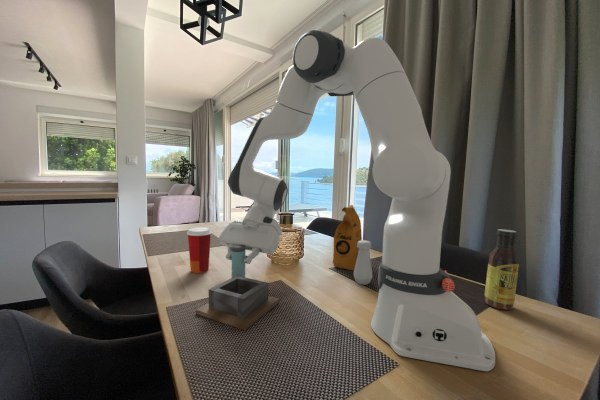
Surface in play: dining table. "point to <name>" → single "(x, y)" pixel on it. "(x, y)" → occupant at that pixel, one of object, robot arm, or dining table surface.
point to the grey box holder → (238, 302)
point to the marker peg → (238, 261)
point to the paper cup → (199, 249)
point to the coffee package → (347, 240)
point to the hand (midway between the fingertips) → (237, 260)
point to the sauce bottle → (502, 272)
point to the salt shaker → (363, 263)
